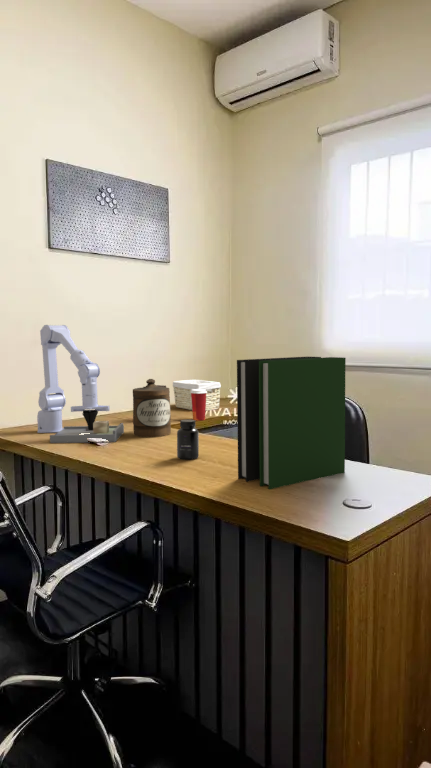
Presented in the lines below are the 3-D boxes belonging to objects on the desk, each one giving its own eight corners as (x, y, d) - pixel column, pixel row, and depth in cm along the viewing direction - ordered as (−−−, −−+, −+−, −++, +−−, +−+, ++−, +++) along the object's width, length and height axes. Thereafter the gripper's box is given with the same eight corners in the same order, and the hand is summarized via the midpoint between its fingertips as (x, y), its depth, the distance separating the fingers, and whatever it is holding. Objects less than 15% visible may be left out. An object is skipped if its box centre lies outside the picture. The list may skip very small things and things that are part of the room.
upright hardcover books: (271, 490, 132) (270, 361, 129) (234, 477, 144) (233, 359, 141) (344, 472, 148) (345, 357, 145) (306, 462, 160) (306, 356, 157)
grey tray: (50, 443, 196) (49, 432, 196) (64, 433, 216) (64, 423, 215) (115, 441, 196) (114, 431, 196) (123, 432, 216) (123, 422, 216)
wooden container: (139, 438, 202) (137, 381, 201) (129, 432, 216) (127, 378, 214) (176, 435, 208) (175, 379, 207) (164, 429, 222) (162, 376, 220)
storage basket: (222, 409, 281) (222, 381, 280) (198, 412, 271) (197, 383, 270) (195, 405, 300) (195, 379, 299) (171, 407, 290) (171, 381, 289)
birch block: (93, 433, 203) (93, 423, 203) (96, 431, 208) (96, 420, 208) (106, 433, 203) (106, 422, 203) (109, 430, 208) (108, 420, 208)
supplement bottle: (182, 461, 164) (181, 422, 163) (173, 457, 170) (173, 420, 169) (202, 458, 167) (201, 421, 166) (193, 454, 173) (192, 418, 172)
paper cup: (210, 418, 248) (209, 389, 247) (202, 421, 241) (202, 390, 240) (195, 418, 251) (194, 388, 250) (187, 420, 244) (187, 390, 243)
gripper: (68, 396, 200) (69, 432, 202) (106, 395, 201) (107, 431, 202) (72, 394, 207) (74, 428, 209) (110, 393, 208) (111, 428, 209)
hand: (91, 429), depth 206 cm, fingers closed
